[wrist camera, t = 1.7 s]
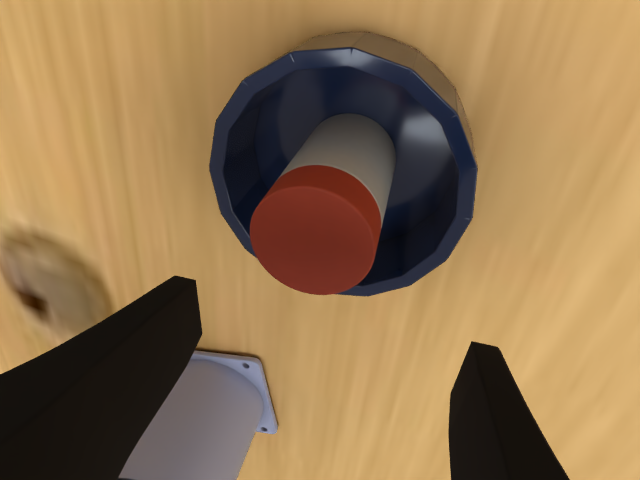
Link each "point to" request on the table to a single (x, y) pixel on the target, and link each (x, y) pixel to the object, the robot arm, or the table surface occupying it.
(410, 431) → the table surface
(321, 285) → the glue stick
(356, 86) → the dark blue round bowl
